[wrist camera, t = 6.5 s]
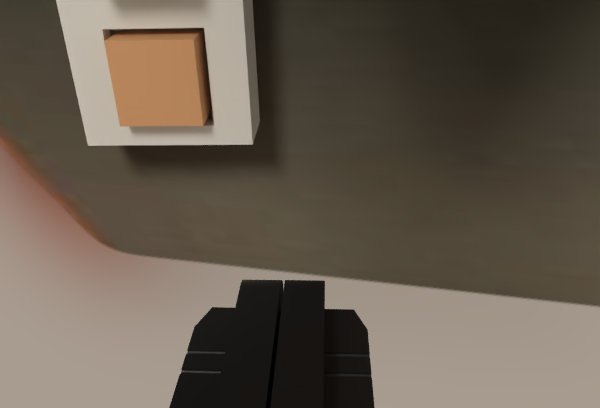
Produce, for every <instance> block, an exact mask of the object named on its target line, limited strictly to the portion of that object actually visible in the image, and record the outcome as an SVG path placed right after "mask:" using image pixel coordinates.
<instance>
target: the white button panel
mask: <svg viewBox="0 0 600 408" xmlns="http://www.w3.org/2000/svg"><path fill="white" fill-rule="evenodd" d="M56 2H57V6H58V11H59V15H60V20H61V25H62V29H63V34H64V38H65V43H66V47H67V52H68V56H69V61H70V66H71V70H72V75H73V79H74V84H75V88H76V93H77V97H78V102H79V106H80V111H81V116H82V120H83V125H84V129H85V134H86V138H87V143H88V146H101V145H253V142H254V139H255V136H256V132H257V129H258V126H259V123H260V115H259V98H258V82H257V66H256V49H255V33H254V17H253V0H56ZM186 28H204V32H205V42H206V52H207V61H208V71H209V81H210V91H211V100H212V111H211V113H210V114H209V116H208V118H207V120H206V122H205V123H204V125H203V126H120V124H119V119H118V113H117V108H116V103H115V97H114V92H113V87H112V81H111V76H110V71H109V65H108V60H107V55H106V49H105V44H104V41H105V40H106V39H108V38H110V37H111V36H113V35H114V34H116V33H117V32H119V31H121V30H124V29H186Z"/></svg>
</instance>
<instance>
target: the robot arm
mask: <svg viewBox="0 0 600 408" xmlns="http://www.w3.org/2000/svg"><path fill="white" fill-rule="evenodd" d="M324 301H325V281H301V280H297V281H296V280H285V284H284V292H283V282H282V280H242V282H241V286H240V290H239V294H238V299H237V303H236V308H217V307H212V308H211V309H210V311H209V312H208V313H207V314H206V315H205V316H204V317H203V318H202V319H201V320H200V322H199V323H198V324H197V325H196V326H195V327H194V331H193V334H192V337H191V340H190V343H189V347H188V353H187V354H186V356H185V359H184V363H183V367H182V372H181V374H180V376H179V379H178V382H177V385H176V388H175V392H174V395H173V398H172V401H171V405H170V408H374V398H373V387H372V378H371V364H370V357H369V343H368V331H367V328H366V327H365V325H364V324H363V323H362V321H361V320H360V318H359V317H358V315H357V314H356V312H355V311H354V310H341V309H340V310H339V309H324Z"/></svg>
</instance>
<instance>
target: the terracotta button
mask: <svg viewBox="0 0 600 408" xmlns="http://www.w3.org/2000/svg"><path fill="white" fill-rule="evenodd" d="M104 44H105V49H106V55H107V60H108V65H109V71H110V76H111V81H112V87H113V92H114V97H115V103H116V108H117V113H118V119H119V124H120V126H203V125H204V123H205V122H206V120H207V118H208V116H209V114H210V113H211V111H212V100H211V91H210V81H209V71H208V61H207V52H206V42H205V32H204V28H186V29H124V30H121V31H119V32H117V33H116V34H114V35H113V36H111V37H110V38H108V39H106V40H105V41H104Z"/></svg>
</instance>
